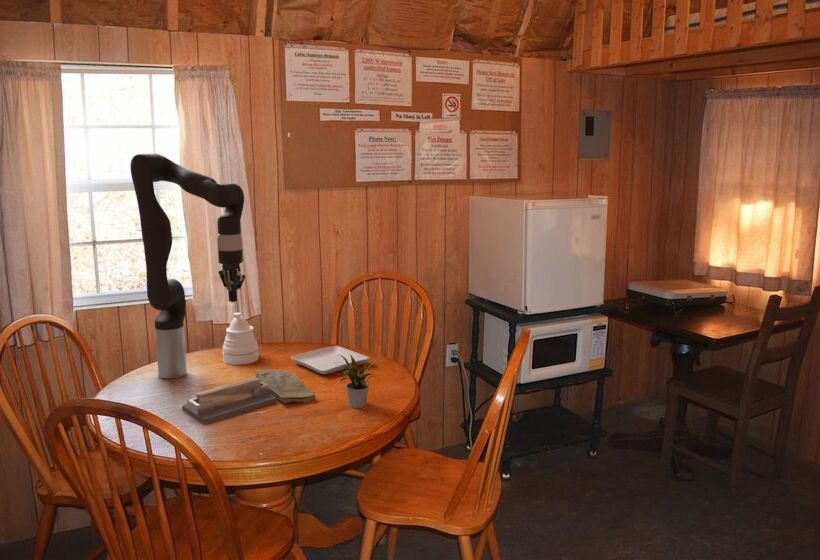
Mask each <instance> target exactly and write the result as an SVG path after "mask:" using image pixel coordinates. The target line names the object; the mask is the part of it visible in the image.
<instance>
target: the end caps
mask: <svg viewBox="0 0 820 560" xmlns="http://www.w3.org/2000/svg"><path fill="white" fill-rule="evenodd" d="M268 394H270V392H269V385H267V384H265V383H263V382H261V381H260V386H259V387H256V388H253V397H254V398H258V397H261V396H265V395H268ZM187 404H188V410H190V411H191V412H193V413H195V414H196V415H201V414H204V413H208V412H211V411H214V409H213V401H212V400H210V401H207V402H203V403H200V404H198V403H197V396H196V397H193V398H190V399H187Z"/></svg>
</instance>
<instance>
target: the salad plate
mask: <svg viewBox="0 0 820 560" xmlns="http://www.w3.org/2000/svg"><path fill="white" fill-rule="evenodd" d="M338 354H339V355H338ZM340 355H342V356H343V357H345V358H346V360H347V361H348V363H349V365H350V367H352V361H351V356H352V357H353V358H354V359H355V361H356V363H358V362H359V363H358V366H360V365H364V364H365V362H366V360H367V358H368V360H367V362H368V361H369V360H370V357H369V356H367V355H364V354H361V353H359V352H356V351H353V350H351V349H347V348H344V347H342V346H339V345H334V346H328V347H322V348H320V349H314V350H311V351H307V352H304V353H299V354H296V355H292V356H290V358H291V360H292V361H293V362H295V363H296V364H298V365H300V366H303V367H306V368H308V369H310V370H312V371H314V372H317V373H318V374H321V375H328V374H329V373H330V374H333V372H334V373H337V372H336V371H338V372H341V371H340V370H342V371H345V370H344V368H345V369H346V370H348V369H347V368H349V367H348V365H347V363H346V361H345V360H344V358H343V357H342V356H340ZM350 355H351V356H350ZM359 356H360V357H359ZM358 359H359V360H358ZM333 362H339V363H333ZM341 363H342V364H341ZM343 364H344V365H345V366H346V367H347V368H346V367H345V366H344V365H343ZM342 366H343V367H344V368H343V367H342ZM352 368H353V367H352Z"/></svg>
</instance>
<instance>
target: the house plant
mask: <svg viewBox="0 0 820 560" xmlns="http://www.w3.org/2000/svg"><path fill="white" fill-rule="evenodd" d="M338 355H339V354H338ZM340 356H342V355H340ZM350 356H351V355H350ZM342 357H343V356H342ZM359 357H360V356H359ZM343 358H344V360H345V361H346V363H347V365H348V367H349V369H348V368H347V367H346V366H345V365H344V364H343V365H344V366H345V367H346V368H347V369H345V368H344V367H343V366H342V367H343V368H344V369H345V370H343V372H342V373H343V374H345V375H346V377H341V378H340V381H339V383H342V382H343V381H345V380H347V379H349V381H350V382H348V383H347V384H346V385H345V389H346V394H347V400H348V405H349V407H350V406H351V407H350V408H352V407H353V409H361V408H364V406H365V407H366V406H367V403H368V395H369V388H370V384H369V383H367V381H368V380H369V379H371V378H372V377H373V378H374V377H375V375H373V373H366V372H367V371H368V370H369V369H370V368H371V367H372V366H373V364H374V363H376V362H378V361H379V359H377V360H374V361H372V363H370V365H368V366H367V363H368V361H369V360H368V358H367V360H368V361H367V360H366V362H365V363H363V367H362V368H360V370H359V365H358V363H359V362H358V363H356V361H355V359H354V358H353V357H352V356H351V361H352V368H351V367H350V365H349V363H348V361H347V360H346V358H345V357H343ZM358 360H359V359H358ZM333 363H339V362H333ZM341 364H342V363H341ZM368 376H369V377H368ZM367 377H368V378H367ZM366 378H367V379H366Z"/></svg>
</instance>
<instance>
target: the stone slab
mask: <svg viewBox="0 0 820 560" xmlns="http://www.w3.org/2000/svg"><path fill="white" fill-rule="evenodd" d="M255 377H256V378H259V379H260V381H261V382H263V383H265V384H267V385H269V394H270V395H272V396H274V397H276V400H278V401H280V402H281V403H283V404H284V405H287V404H288V405H289V404H290V403H293V402H295V403H301V402H304V403H309V402H313V400H314V401H316V395H315V393H314V392H312V391H311V390H310V389H309V388H308V387H307V386H305V384H304V382H303V381H302V380H301V379H300V378H299V377H298V376H297V375H296V374H294V373H293V372H292V371H290V370H285V369H273V368H269V369H256V370H255Z"/></svg>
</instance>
